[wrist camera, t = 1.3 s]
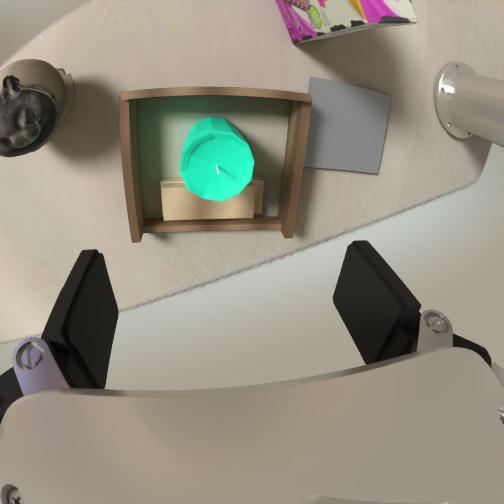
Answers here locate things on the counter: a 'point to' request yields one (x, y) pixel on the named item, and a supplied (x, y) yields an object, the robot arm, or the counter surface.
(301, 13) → the candy bar box
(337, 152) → the mat
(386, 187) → the counter surface
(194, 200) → the offcut stack
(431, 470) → the robot arm
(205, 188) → the candle
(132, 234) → the wooden tray
